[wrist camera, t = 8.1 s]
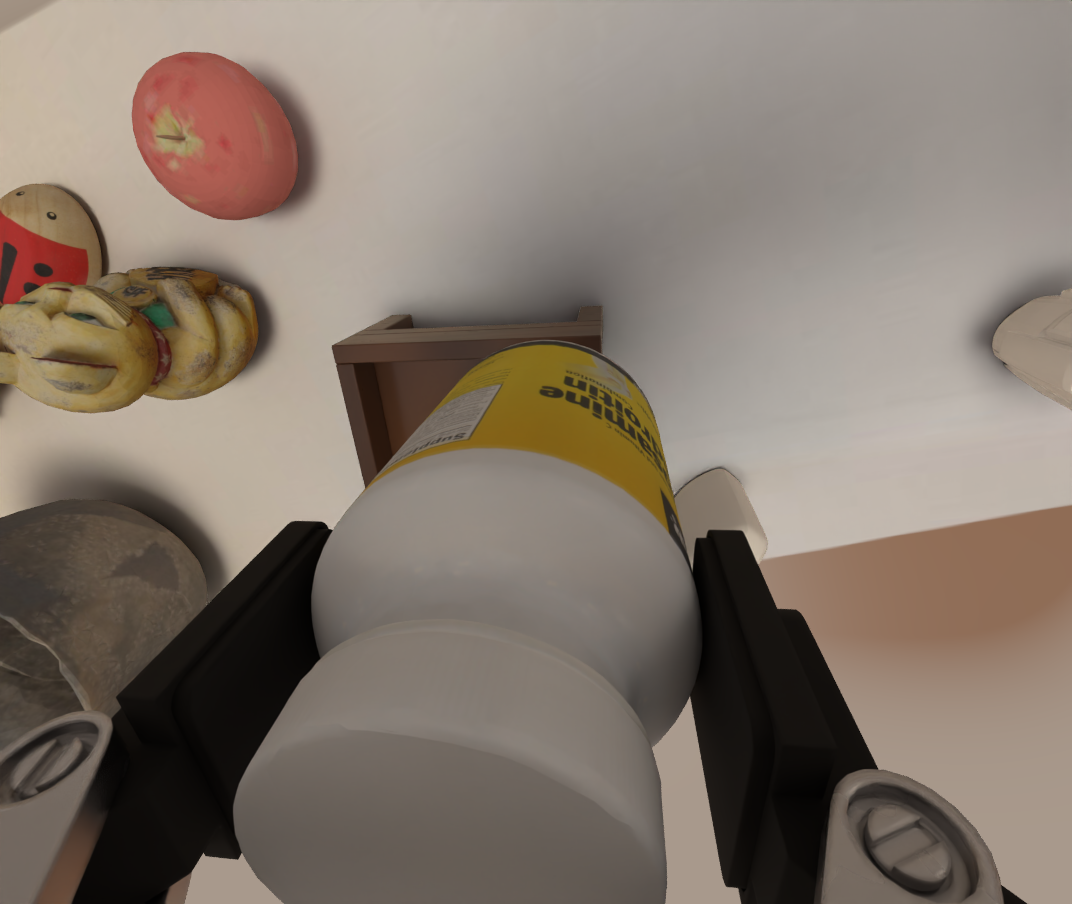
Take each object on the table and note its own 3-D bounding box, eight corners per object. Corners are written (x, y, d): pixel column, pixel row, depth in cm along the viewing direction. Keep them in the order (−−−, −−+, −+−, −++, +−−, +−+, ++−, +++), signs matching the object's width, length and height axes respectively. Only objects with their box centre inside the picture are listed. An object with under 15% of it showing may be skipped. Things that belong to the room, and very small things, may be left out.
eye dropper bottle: (748, 512, 37) (806, 637, 27) (672, 531, 39) (697, 656, 28) (734, 461, 36) (790, 572, 25) (655, 483, 37) (675, 596, 26)
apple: (259, 239, 33) (163, 248, 26) (182, 119, 31) (53, 93, 24) (348, 181, 31) (271, 173, 24) (274, 47, 29) (162, -6, 21)
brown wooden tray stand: (602, 305, 32) (601, 335, 25) (605, 520, 39) (604, 595, 32) (391, 314, 34) (330, 345, 27) (428, 518, 41) (388, 588, 34)
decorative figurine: (271, 266, 34) (51, 306, 20) (290, 385, 38) (113, 486, 24) (136, 255, 35) (-161, 286, 21) (167, 373, 38) (-71, 463, 25)
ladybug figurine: (120, 220, 34) (70, 221, 31) (95, 343, 38) (49, 356, 35) (21, 158, 33) (-42, 153, 30) (7, 292, 37) (-49, 300, 34)
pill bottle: (673, 508, 16) (797, 1036, 6) (484, 541, 18) (315, 1012, 7) (632, 306, 14) (722, 602, 3) (416, 363, 15) (14, 695, 5)
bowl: (28, 542, 48) (-198, 672, 35) (81, 412, 41) (-177, 513, 27) (196, 646, 51) (50, 802, 38) (272, 544, 44) (126, 691, 31)
